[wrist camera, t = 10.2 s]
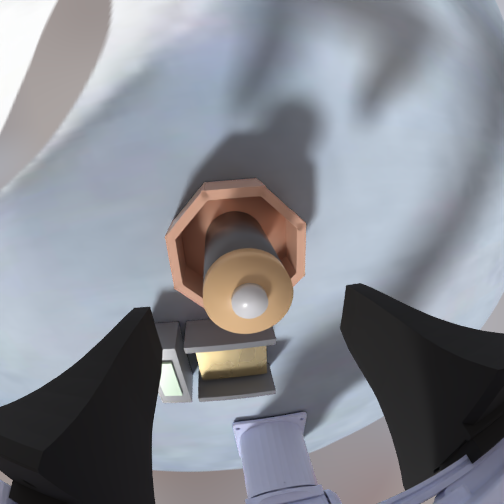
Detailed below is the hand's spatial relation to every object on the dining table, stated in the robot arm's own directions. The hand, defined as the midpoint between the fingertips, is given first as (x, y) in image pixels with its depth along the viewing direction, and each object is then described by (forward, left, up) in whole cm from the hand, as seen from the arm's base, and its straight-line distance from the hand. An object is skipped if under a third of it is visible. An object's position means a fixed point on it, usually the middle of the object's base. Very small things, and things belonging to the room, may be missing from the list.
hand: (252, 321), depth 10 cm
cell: (0, 0, -8) cm, 8 cm away
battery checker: (-9, +2, -9) cm, 13 cm away
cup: (0, 0, -9) cm, 9 cm away
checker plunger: (-9, +1, -8) cm, 12 cm away
